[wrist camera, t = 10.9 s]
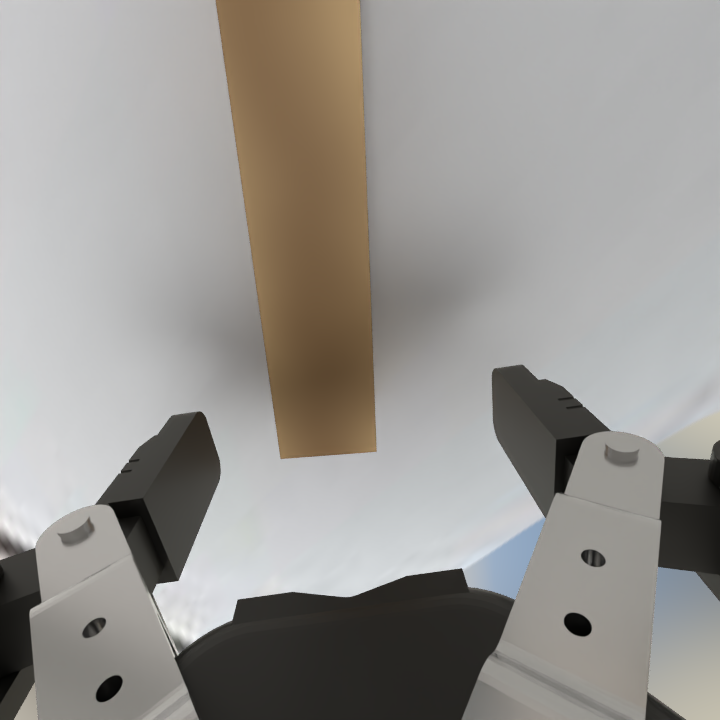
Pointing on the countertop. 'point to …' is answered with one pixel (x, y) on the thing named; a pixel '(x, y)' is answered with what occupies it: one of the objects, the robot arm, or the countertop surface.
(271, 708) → the robot arm
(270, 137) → the rod
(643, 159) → the countertop surface
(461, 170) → the countertop surface
